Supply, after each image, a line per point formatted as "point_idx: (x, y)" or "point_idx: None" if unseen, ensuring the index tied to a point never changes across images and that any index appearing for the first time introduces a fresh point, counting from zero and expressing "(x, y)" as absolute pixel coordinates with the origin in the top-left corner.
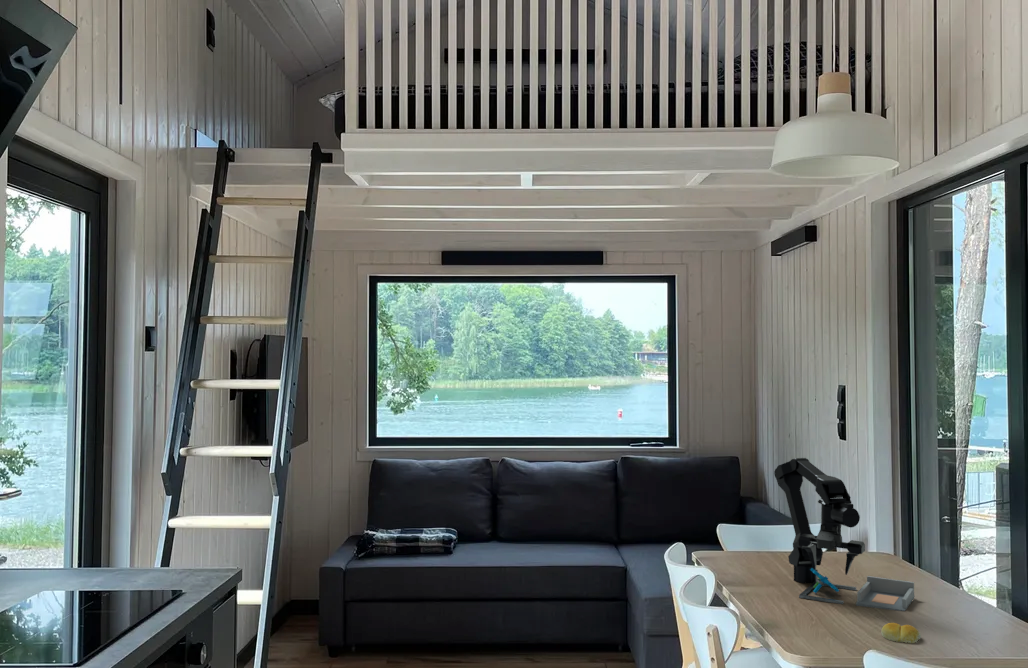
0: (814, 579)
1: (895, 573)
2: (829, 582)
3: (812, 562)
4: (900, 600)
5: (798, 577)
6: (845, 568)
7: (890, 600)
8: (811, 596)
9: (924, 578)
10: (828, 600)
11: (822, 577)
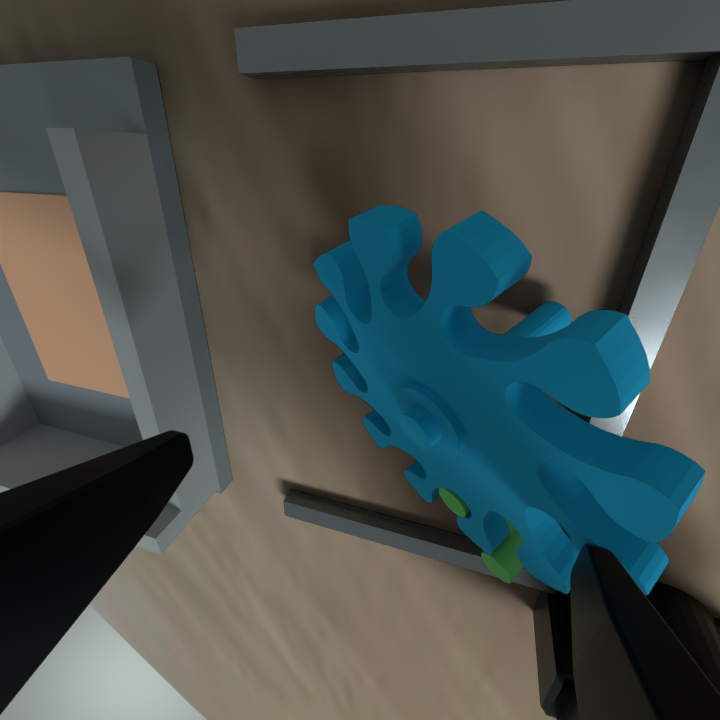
0: (559, 608)
1: (246, 707)
2: (372, 314)
3: (689, 683)
4: (13, 319)
5: (712, 638)
6: (113, 474)
7: (30, 283)
8: (596, 33)
9: (162, 662)
10: (378, 17)
11: (438, 244)
